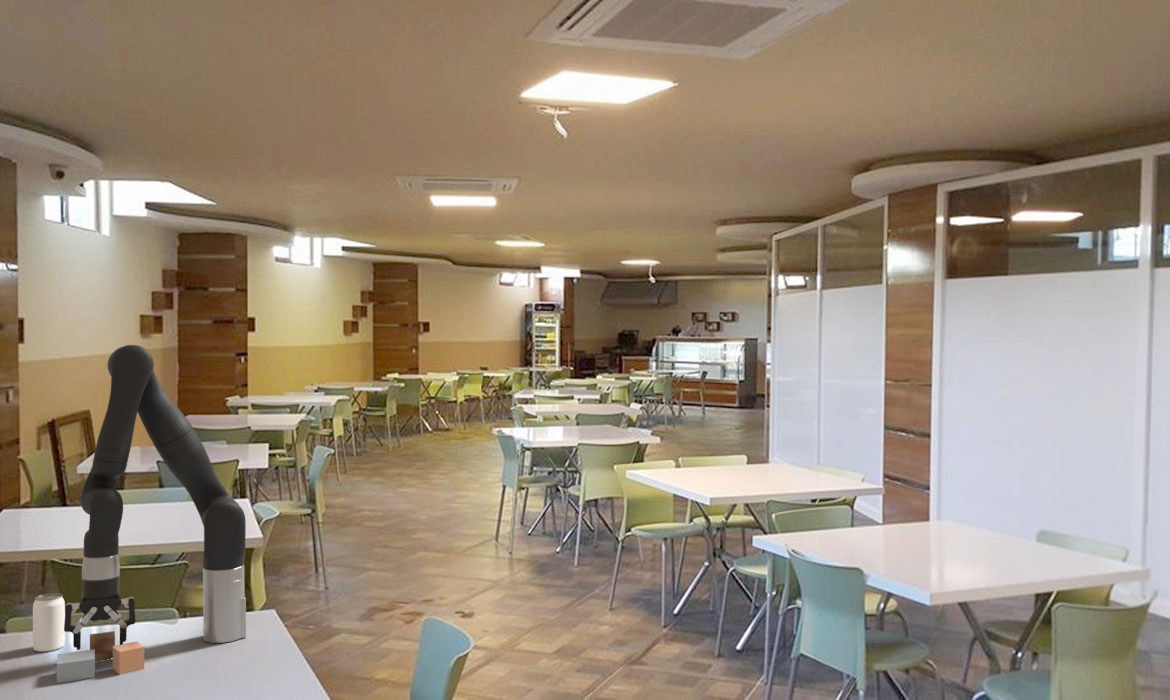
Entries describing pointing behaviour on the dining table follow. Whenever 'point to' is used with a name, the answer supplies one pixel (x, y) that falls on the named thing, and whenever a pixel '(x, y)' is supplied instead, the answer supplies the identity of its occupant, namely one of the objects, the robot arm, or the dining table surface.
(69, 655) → the base block
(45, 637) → the can
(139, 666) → the terracotta cube
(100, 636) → the walnut cube
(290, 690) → the dining table surface
